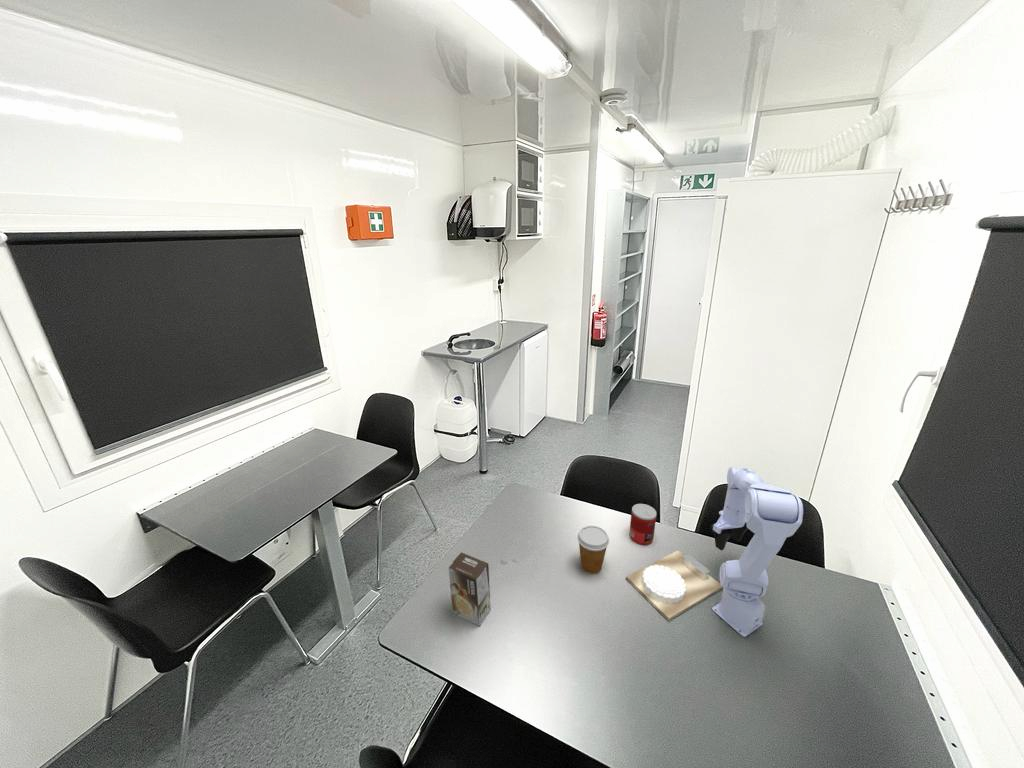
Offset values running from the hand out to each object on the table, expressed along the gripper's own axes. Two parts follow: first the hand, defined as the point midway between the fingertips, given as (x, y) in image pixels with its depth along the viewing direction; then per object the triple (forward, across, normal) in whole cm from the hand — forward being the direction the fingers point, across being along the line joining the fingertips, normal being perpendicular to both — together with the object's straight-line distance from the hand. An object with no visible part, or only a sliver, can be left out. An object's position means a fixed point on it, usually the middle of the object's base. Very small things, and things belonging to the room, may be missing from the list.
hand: (727, 543), depth 119 cm
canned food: (+10, +12, -22) cm, 27 cm away
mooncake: (+10, +22, -3) cm, 24 cm away
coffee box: (+10, +74, -23) cm, 78 cm away
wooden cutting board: (+9, +18, -3) cm, 21 cm away
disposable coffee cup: (+10, +35, -20) cm, 41 cm away
